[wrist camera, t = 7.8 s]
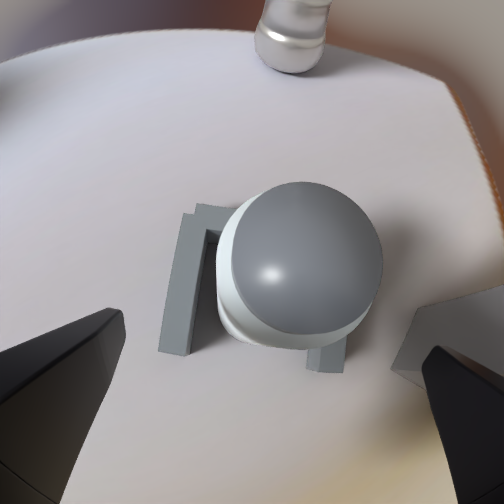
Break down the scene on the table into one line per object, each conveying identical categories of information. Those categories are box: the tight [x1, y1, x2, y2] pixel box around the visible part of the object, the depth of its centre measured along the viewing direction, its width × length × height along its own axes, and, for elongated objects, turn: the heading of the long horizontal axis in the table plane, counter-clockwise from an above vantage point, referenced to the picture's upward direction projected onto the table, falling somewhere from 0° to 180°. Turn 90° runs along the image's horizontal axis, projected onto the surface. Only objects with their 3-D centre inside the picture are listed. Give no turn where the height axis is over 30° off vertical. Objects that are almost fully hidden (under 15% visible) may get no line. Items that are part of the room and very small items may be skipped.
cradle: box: [158, 203, 347, 373], centre depth 18 cm, size 9×10×2 cm
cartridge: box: [216, 182, 383, 350], centre depth 13 cm, size 5×5×12 cm
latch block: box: [391, 285, 504, 390], centre depth 13 cm, size 5×8×12 cm, turn 57°
